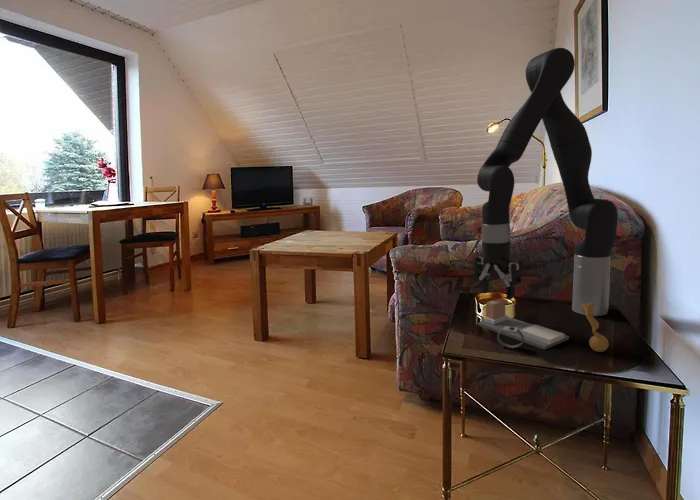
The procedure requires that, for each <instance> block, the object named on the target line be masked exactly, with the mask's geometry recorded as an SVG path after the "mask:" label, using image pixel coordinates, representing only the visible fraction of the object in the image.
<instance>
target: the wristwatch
mask: <svg viewBox="0 0 700 500" xmlns="http://www.w3.org/2000/svg"><path fill="white" fill-rule="evenodd" d="M502 331H503V332H508V333H517V332H518V333H519V334H520V336H521V338H522V341H520V343H519V344H516V345H515V344H514V345H510V344H508V343H505V342H504V341H503V340H501V338H500V335H501V334H500V333H501V332H502ZM496 339H497V342H498V343H499V344H500V345H501V346H503V347H505V348H508V349H517V348H519V347H521V346H522V345H523V344H524V343H525V342H524V336H523V334H522V333H521V331H520V330H518V328H517V327H508V326H505V327H504V328H502V329H501V330H500V331H499V333H498V334H497V336H496Z"/></svg>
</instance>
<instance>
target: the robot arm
mask: <svg viewBox="0 0 700 500" xmlns="http://www.w3.org/2000/svg"><path fill="white" fill-rule="evenodd" d="M575 61H576V60H575V57H574V55H573V53H572V52H571V51H570V50H569V49H567V48H566V47H565V48H564V47H556V48H552V49H550V50H548V51H545V52H542V53H541V54H538V55H537V56H534V57H533V58H531V59H530V60H529V62H527V64H526V67H525V79H526V83H527V86H528V89H529V90H530V94H529V96H528V98H527V99H526V100H525V102H523V105H522V106H521V107H520V108H519V109H518V110H517V112H516V113H515V114H514V115H513V116H512V118H511V120H510V121H509V122H508V124H507V125H506V127H505V129H504V131H503V133H502V135H501V136H500V138H499V141H498V143H497V145H496V147H495V148H494V149H493V150H492V152H491V153H490V154H489V156H488V157H487V158H486V160H485V161H484V163H483V164H482V165H481V167H480V169H479V171H478V173H477V177H476V179H477V180H476V181H477V182H476V183H477V185H478V187H479V189H481V190H482V191H484V192H488V193H489V194H488V201H486V202H485V203H483V204H482V207H481V208H482V209H481V212H482V213H481V214H482V215H481V216H482V218H481V219H482V220H481V221H482V226H481V250H482V251H481V252H482V255H481V256H477V257H474V269H473V270H474V272H473V274H474V277H475V278H478V279H479V281H480V291H481V293H482V294H487V293H489V290H490V286H489V277H490V276H496V277H500V279H501V280H502V281H503V282H504V283H505V285H506V287H505V299H506V300H513V299H514V297H515V296H516V294H515V293H516V290H515V289H516V286H519V285H521V284H522V269H521V268H522V266H521V262H518V261H517V262H511V260H510V259H511V255H512V245H511V243H512V239H511V237H512V236H511V224H510V207H511V206H510V205H511V202H512V199H513V198H512V197H513V193H514V189H515V176H514V172H513V171H512V169H511V168H510V166H511V165H512V164H514V163H516V162H518V161H520V159H521V158H522V157H523V155H524V152H525V151H526V148H527V146H528V145H529V143H530V141H531V140H532V136H533V135H534V133H535V131H536V129H537V128H538V126H539V124H540V122H541V121H542V122H543V126H544V129H545V131H546V134H547V138H548V141H549V143H550V148H551V152H552V154H553V158H554V160H555V163H556V166H557V169H558V172H559V175H560V178H561V182H562V185H563V188H564V192H565V198H566V204H567V210H568V213H569V214H568V215H569V217H570V221H571V222H572V223H573V225H574V226H575V227H576V228H577V229H579V230H584V231H585V232H584V233H585V234H584V239H583V241H581V242H577V243H576V244H575V245H574V257H573V280H572V283H573V284H572V303H571V310H572V311H573V312H574V313H577V314H580V315H584V316H586V315H585V314H584V313H583V311H582V309H581V306H582V305H583V304H588V303H591V302H594V305H595V306H594V307H593V313H594V314H595V316H596V317H599V316H600V317H601V316H604V315H607V314H608V311H609V303H610V301H609V300H610V289H611V287H610V285H611V282H610V281H611V279H610V277H611V273H610V272H611V258H612V256H611V255H612V249H613V248H614V246H615V243H616V236H617V229H618V220H619V219H618V218H619V214H618V209H617V206H616V205H615V203H614V202H612V201H611V200H608V199H602V198H595V197H594V195H593V191H592V189H591V186H590V183H589V172H590V168H591V163H592V157H593V152H592V151H593V150H592V146H591V142H590V139H589V135H588V133H587V132H588V131H587V129H586V126H584V124H583V122H582V121H581V120H580V119H579V118H578V117H577V116H576V115H575V113H574V112H573V111H572V109H570V108H569V106H568V105H567V103H566V102H565V99H564V98H563V95H562V92H561V91H562V90H563V88H564V87H565V85H567V83H568V81H569V80H570V79H571V77H572V75H573V74H574V71H575V66H576V65H575V63H576V62H575Z"/></svg>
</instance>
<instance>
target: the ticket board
mask: <svg viewBox="0 0 700 500" xmlns="http://www.w3.org/2000/svg"><path fill="white" fill-rule="evenodd" d="M477 326H479V327H481V328H484V329H486V330H487V329H488V330H490V331H493V332H495V333H499V331H500V330H501V329H502V328H504V327H505V326H508V327H517V328H518V330H520V331H521V333H522V334H523V336H524V342H523V343H525V344H528V345H530V346H533V347H535V348H539V349H542V350H544V351H545V350H547V349H550V348H552V347H555V346H557V345H559V344H561V343H563V342H566V341H568V340H570V336H569V335H567V334H566V333H563V332H560V331H557V330H554V329H551V328H549V327H548V328H547V327H544V326H541V325H538V324H534V323H533V324H532V323H528V322H525V321H522V320H519V319H517V318H513V317H509V316H508V320H506V321H503V322H500V323H497V324H494V325H493V324H491V323H488V322H485V321H483V320H482V321H479V322H477ZM500 335H503V336H506V337H509V338H512V339H514V340H517V341H520V342H522V338H521V336H520V334H519V333H518V332H517V333H508V332H503V331H502V332H501V333H500Z"/></svg>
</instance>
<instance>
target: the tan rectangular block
mask: <svg viewBox="0 0 700 500" xmlns="http://www.w3.org/2000/svg"><path fill="white" fill-rule="evenodd" d="M485 307H486V308H485V310H486V311H485V316H483V317H482V321H485V322H488V323H491V324H493V325H494V324H497V323H500V322H503V321H506V320H508V317H509V315H506V300H505V299H500V298H496V299H492V300H490V301H486V302H485Z"/></svg>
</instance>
